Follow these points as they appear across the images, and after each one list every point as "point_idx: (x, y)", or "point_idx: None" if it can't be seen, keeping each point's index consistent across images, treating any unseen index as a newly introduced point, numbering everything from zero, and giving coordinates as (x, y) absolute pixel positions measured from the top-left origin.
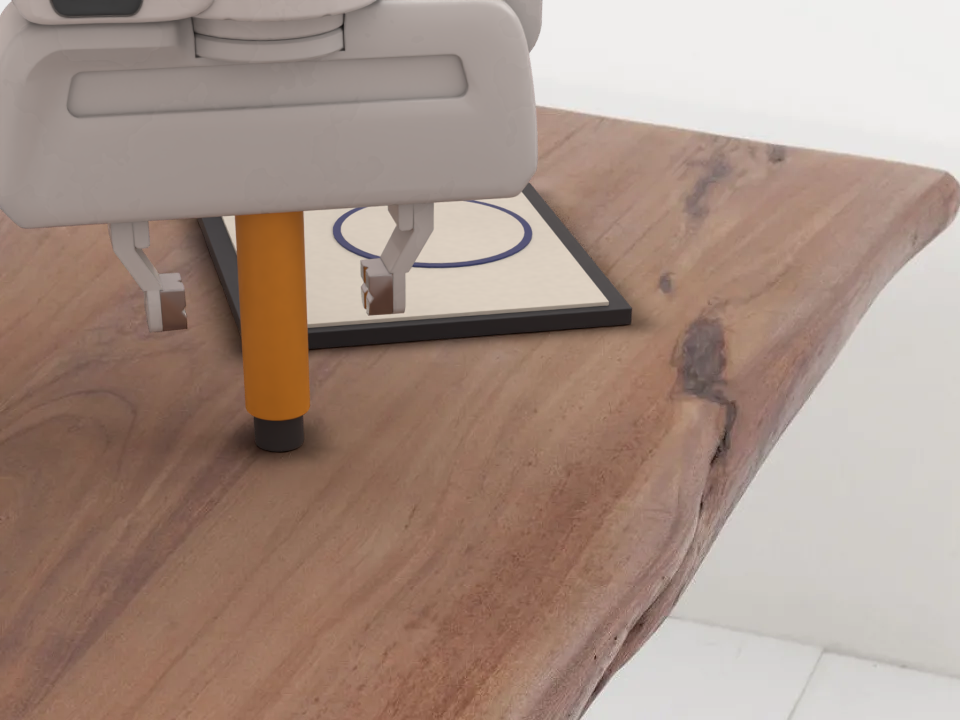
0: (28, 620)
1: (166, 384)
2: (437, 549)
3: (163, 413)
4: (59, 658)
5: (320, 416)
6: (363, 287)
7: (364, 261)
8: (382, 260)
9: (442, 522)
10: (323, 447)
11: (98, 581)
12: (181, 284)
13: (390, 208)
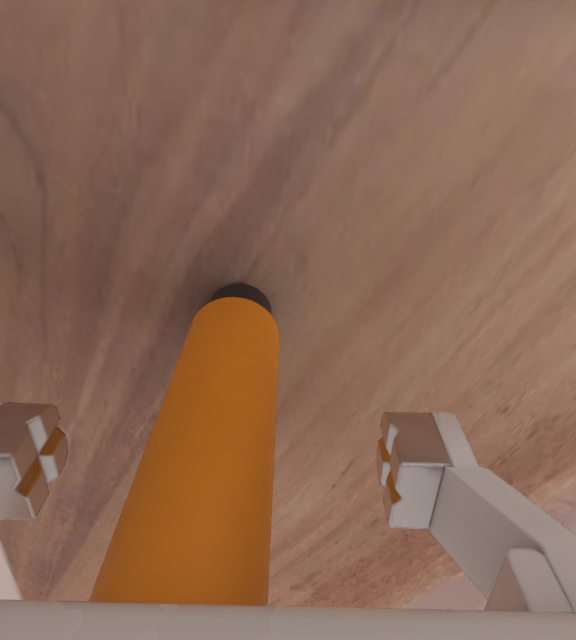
0: (11, 541)
1: (79, 79)
2: (348, 518)
3: (84, 193)
4: (45, 577)
5: (307, 249)
6: (391, 435)
7: (406, 471)
8: (441, 485)
9: (368, 485)
10: (291, 332)
11: (57, 509)
12: (25, 500)
13: (503, 596)
